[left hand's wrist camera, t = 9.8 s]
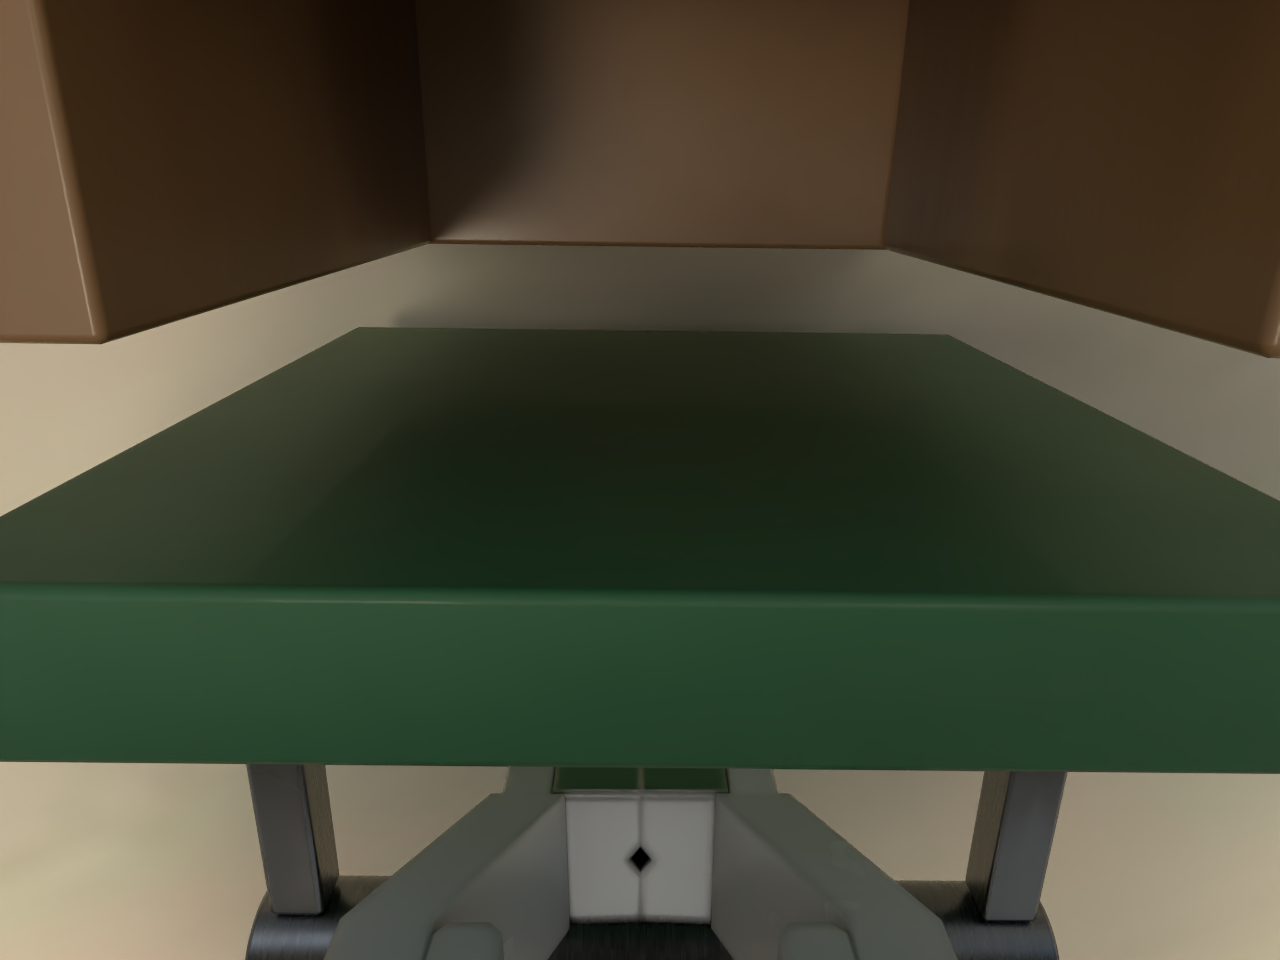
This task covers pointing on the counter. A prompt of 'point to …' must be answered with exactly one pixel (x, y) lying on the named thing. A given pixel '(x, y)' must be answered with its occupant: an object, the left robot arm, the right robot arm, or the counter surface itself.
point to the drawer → (643, 411)
